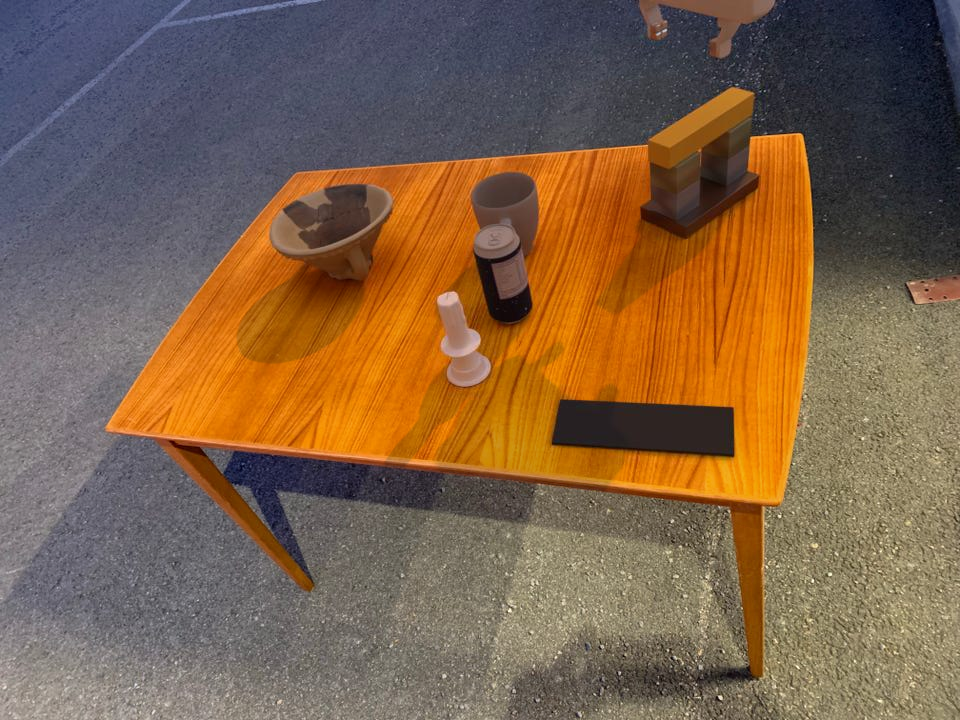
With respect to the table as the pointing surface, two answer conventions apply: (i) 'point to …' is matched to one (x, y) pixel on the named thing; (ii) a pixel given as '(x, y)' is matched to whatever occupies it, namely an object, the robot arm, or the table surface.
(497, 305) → the beverage can
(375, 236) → the bowl
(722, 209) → the tower
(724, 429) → the mat
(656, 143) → the bar
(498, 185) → the mug
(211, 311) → the table surface
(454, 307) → the candle
